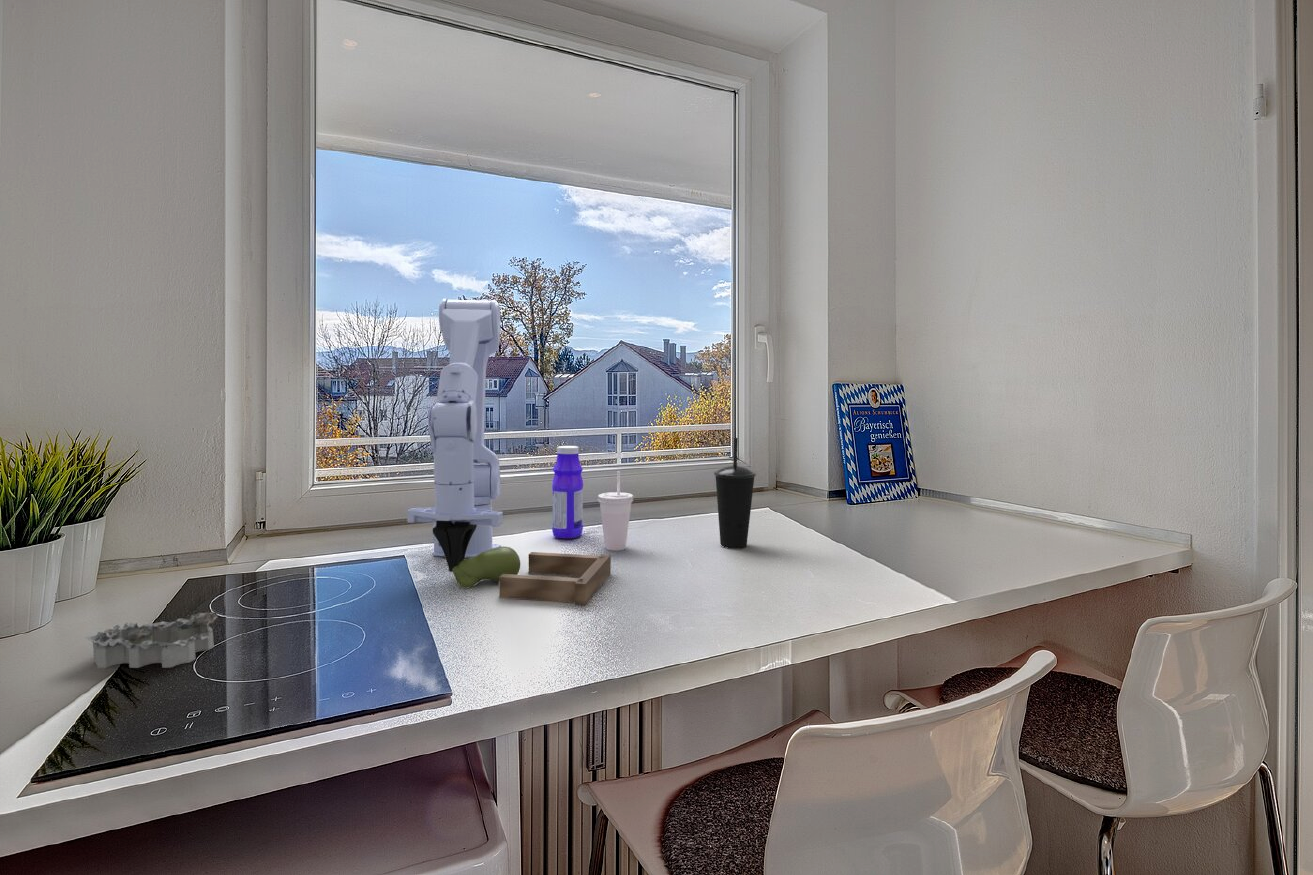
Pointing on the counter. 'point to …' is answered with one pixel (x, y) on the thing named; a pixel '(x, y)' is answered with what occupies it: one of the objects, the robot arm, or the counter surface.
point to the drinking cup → (734, 502)
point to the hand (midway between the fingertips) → (455, 570)
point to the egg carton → (154, 642)
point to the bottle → (567, 494)
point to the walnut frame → (558, 578)
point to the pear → (487, 566)
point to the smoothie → (615, 517)
